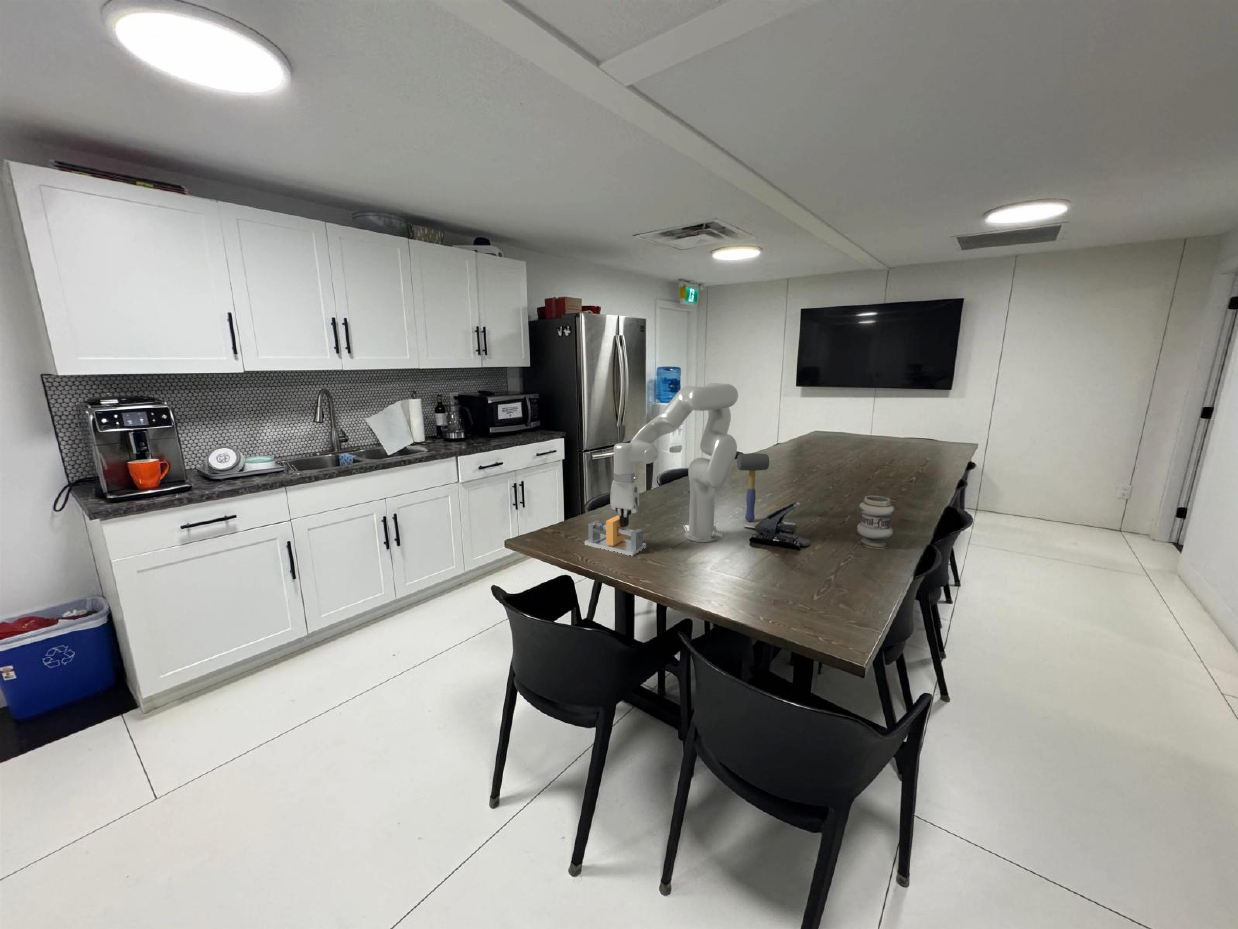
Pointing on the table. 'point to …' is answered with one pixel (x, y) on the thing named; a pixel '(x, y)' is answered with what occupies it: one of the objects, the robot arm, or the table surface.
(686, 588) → the table surface
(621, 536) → the collar
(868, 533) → the apothecary jar
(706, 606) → the table surface
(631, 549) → the pipe stand
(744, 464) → the rubber mallet
